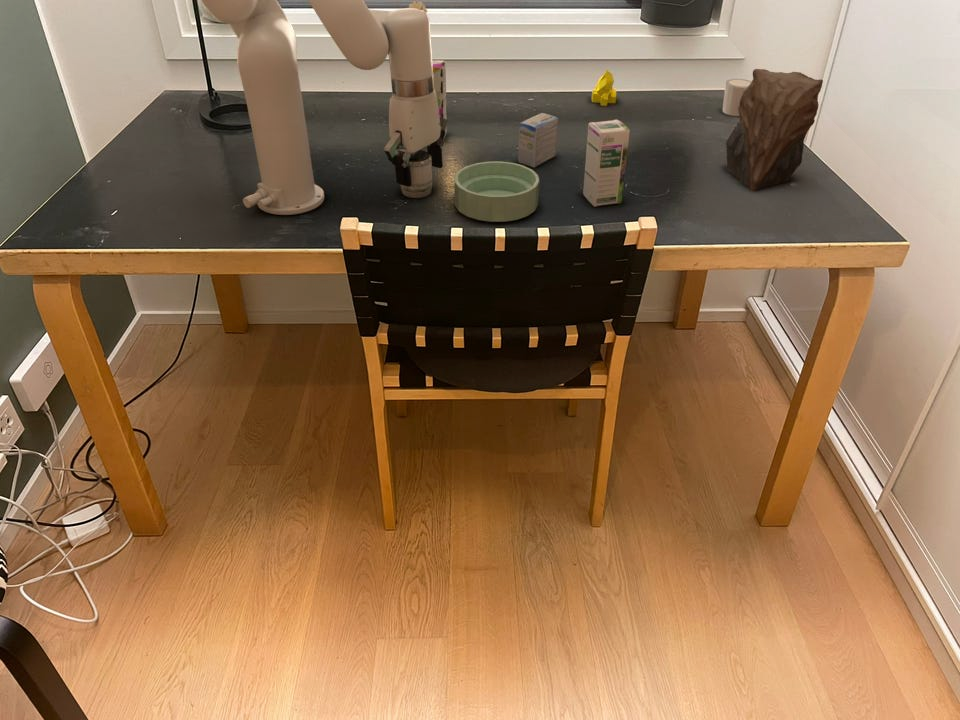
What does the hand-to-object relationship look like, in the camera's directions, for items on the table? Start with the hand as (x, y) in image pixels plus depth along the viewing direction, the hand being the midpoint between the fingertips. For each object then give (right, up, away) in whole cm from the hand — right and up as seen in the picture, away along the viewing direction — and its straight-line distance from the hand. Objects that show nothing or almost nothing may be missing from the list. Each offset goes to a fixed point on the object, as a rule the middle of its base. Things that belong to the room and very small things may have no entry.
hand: (420, 175), depth 144 cm
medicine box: (+24, +7, +15) cm, 29 cm away
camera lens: (-1, -3, +2) cm, 4 cm away
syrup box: (+35, -5, 0) cm, 35 cm away
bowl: (+15, -6, -3) cm, 16 cm away
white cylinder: (+74, +25, +38) cm, 87 cm away
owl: (+68, +1, +8) cm, 68 cm away
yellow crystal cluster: (+43, +30, +45) cm, 69 cm away
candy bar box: (-2, +15, +25) cm, 29 cm away
